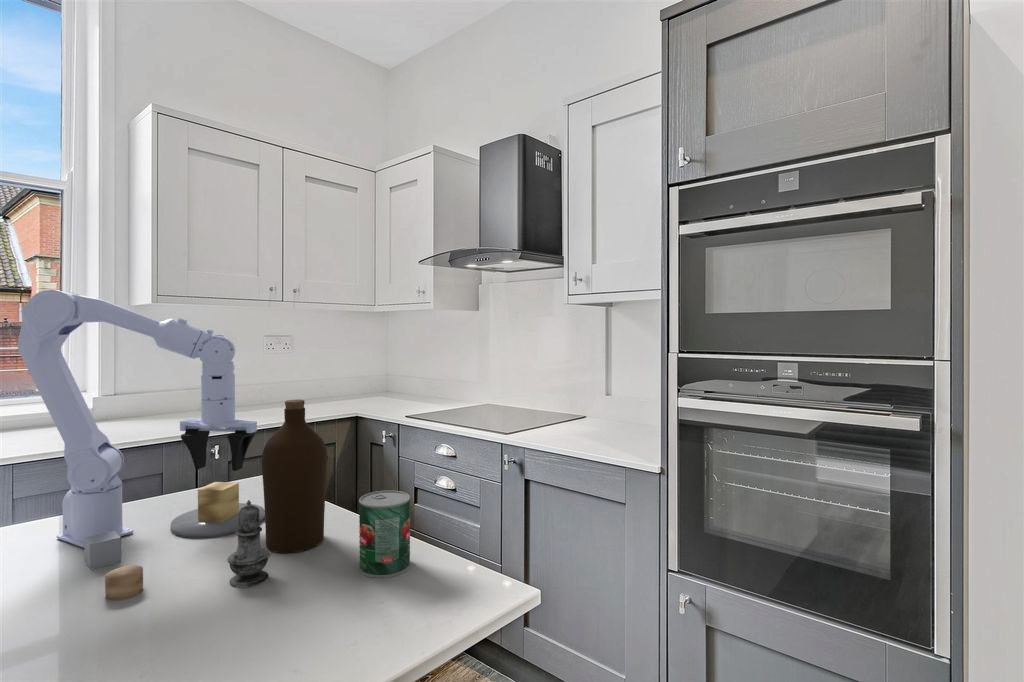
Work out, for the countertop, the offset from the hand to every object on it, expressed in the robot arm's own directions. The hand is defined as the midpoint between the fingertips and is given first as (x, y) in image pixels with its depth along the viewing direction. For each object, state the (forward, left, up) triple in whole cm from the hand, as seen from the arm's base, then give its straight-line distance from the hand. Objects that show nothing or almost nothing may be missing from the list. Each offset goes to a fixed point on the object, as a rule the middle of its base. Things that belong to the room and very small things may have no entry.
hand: (218, 468), depth 105 cm
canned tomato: (+41, 0, -11) cm, 42 cm away
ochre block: (0, 0, -9) cm, 9 cm away
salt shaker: (+26, -13, -11) cm, 31 cm away
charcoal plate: (0, 0, -10) cm, 10 cm away
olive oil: (+21, 0, -10) cm, 23 cm away
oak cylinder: (+14, -24, -10) cm, 30 cm away
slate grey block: (0, -20, -10) cm, 23 cm away
